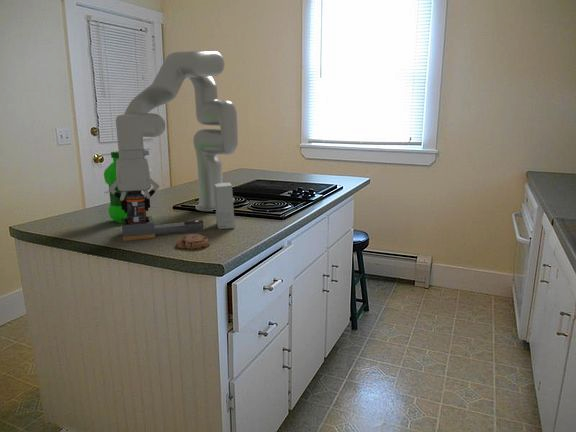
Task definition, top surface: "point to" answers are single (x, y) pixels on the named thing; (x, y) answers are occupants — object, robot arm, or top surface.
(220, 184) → the skincare box
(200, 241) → the cookie
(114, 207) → the plastic bottle
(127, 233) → the grey long handled piece
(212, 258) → the top surface
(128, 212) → the supplement bottle
